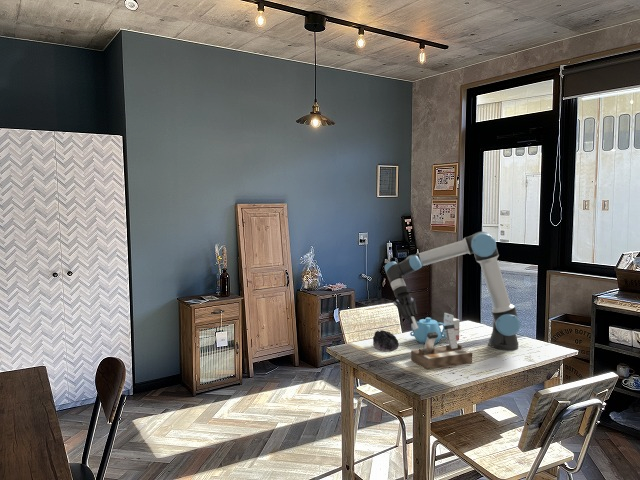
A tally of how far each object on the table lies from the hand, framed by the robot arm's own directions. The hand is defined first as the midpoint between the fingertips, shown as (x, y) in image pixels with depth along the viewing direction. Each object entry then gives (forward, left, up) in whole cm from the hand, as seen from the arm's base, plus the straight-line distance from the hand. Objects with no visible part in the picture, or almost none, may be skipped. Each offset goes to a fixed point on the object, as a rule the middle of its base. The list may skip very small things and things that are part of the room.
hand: (416, 329), depth 247 cm
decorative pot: (-19, -18, -14) cm, 30 cm away
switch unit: (-6, +13, -14) cm, 20 cm away
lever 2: (-15, +12, -8) cm, 21 cm away
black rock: (+8, -17, -14) cm, 23 cm away
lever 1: (+2, +12, -8) cm, 15 cm away
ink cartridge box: (-36, -18, -14) cm, 42 cm away
